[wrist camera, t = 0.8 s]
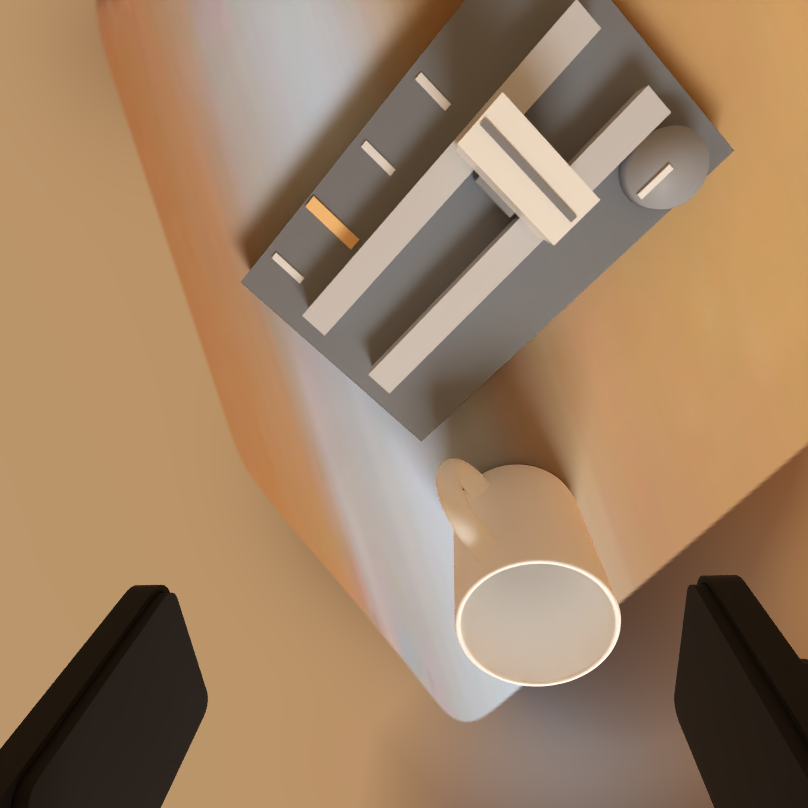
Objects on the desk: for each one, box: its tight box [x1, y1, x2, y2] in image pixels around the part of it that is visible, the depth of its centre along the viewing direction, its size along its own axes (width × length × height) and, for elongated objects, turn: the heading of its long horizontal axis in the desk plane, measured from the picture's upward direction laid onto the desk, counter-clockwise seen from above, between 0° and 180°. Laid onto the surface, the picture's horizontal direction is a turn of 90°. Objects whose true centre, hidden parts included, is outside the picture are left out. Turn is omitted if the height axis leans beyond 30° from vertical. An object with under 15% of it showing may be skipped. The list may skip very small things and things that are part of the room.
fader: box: [456, 92, 600, 245], centre depth 24 cm, size 3×6×6 cm, turn 47°
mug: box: [436, 458, 621, 686], centre depth 32 cm, size 12×8×10 cm
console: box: [241, 0, 734, 441], centre depth 29 cm, size 22×14×4 cm, turn 137°
